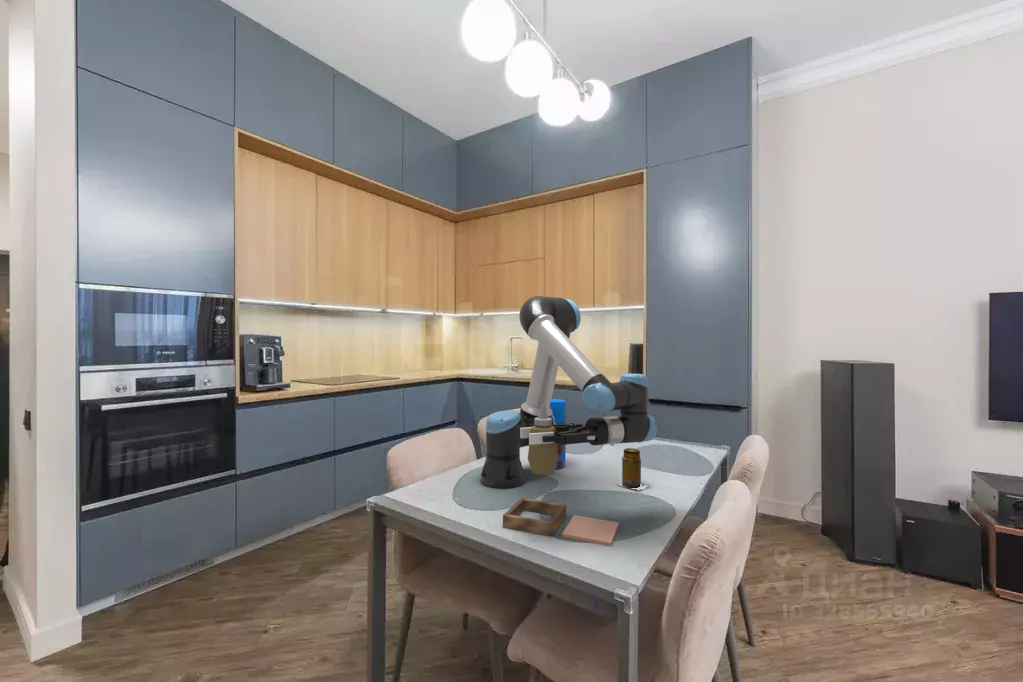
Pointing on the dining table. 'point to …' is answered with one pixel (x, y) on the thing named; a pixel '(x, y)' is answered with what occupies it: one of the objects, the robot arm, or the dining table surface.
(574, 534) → the tile
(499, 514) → the dining table surface
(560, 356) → the robot arm
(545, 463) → the squeeze bottle
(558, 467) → the thermos
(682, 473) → the dining table surface
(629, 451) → the condiment
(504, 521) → the bottle holder
